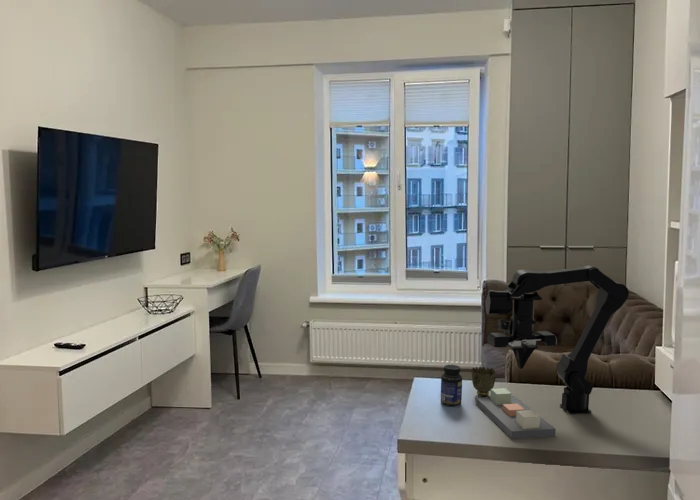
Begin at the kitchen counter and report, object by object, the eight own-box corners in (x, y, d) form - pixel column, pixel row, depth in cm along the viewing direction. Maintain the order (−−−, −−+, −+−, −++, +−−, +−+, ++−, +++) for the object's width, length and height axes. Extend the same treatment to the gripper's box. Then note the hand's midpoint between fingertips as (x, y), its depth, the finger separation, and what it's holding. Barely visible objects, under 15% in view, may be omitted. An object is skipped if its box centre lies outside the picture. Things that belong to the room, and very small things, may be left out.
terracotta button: (517, 415, 170) (517, 403, 170) (524, 421, 166) (524, 409, 165) (502, 416, 169) (502, 404, 169) (509, 422, 165) (509, 410, 165)
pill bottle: (461, 408, 175) (462, 370, 174) (439, 406, 177) (440, 369, 175) (461, 400, 181) (462, 364, 180) (440, 398, 183) (442, 363, 181)
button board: (514, 402, 180) (514, 395, 180) (555, 436, 157) (555, 428, 157) (476, 404, 178) (476, 397, 178) (511, 439, 155) (511, 431, 155)
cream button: (531, 422, 162) (532, 409, 161) (539, 429, 157) (540, 416, 157) (515, 423, 161) (516, 410, 160) (523, 430, 157) (524, 417, 156)
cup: (497, 399, 182) (498, 374, 181) (473, 399, 182) (474, 373, 181) (492, 391, 190) (493, 366, 189) (468, 390, 190) (469, 365, 189)
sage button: (504, 399, 178) (504, 388, 178) (510, 404, 174) (511, 393, 174) (490, 400, 177) (490, 388, 177) (496, 405, 173) (496, 394, 173)
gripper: (540, 308, 182) (537, 358, 183) (480, 309, 178) (478, 361, 180) (559, 316, 171) (556, 370, 172) (496, 318, 167) (494, 373, 169)
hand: (520, 368), depth 174 cm, fingers closed
